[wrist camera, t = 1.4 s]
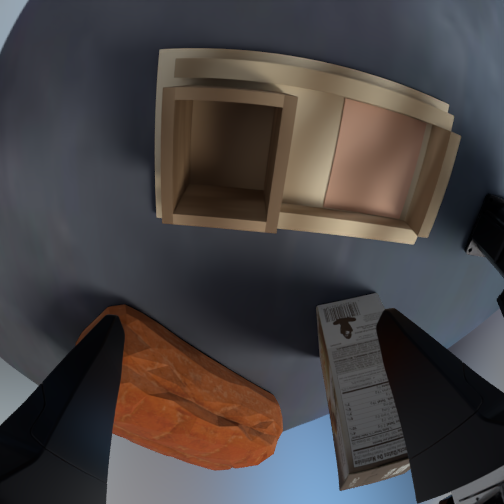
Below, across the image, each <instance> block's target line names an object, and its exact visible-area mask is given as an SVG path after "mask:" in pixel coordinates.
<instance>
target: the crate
mask: <svg viewBox="0 0 504 504" xmlns="http://www.w3.org/2000/svg"><path fill="white" fill-rule="evenodd" d="M297 102H298V97H297V96H294V95H290V94H287V93H282V92H274V91H266V90H258V89H248V88H236V87H221V86H196V85H185V86H173V87H163V92H162V113H161V205H162V223H164V224H177V225H189V226H201V227H212V228H224V229H235V230H246V231H256V232H266V233H276V232H277V226H278V221H279V215H280V209H281V203H282V197H283V191H284V185H285V179H286V173H287V167H288V160H289V154H290V148H291V142H292V135H293V129H294V122H295V115H296V109H297Z"/></svg>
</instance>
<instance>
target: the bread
mask: <svg viewBox="0 0 504 504" xmlns="http://www.w3.org/2000/svg"><path fill="white" fill-rule="evenodd" d="M107 314H111V315H118V316H119V318H120V321H121V324H122V326H123V329H124V332H125V342H124V352H123V362H122V374H121V382H120V387H119V393H118V398H117V404H116V410H115V417H114V424H113V431H112V433H113V434H115V435H118V436H120V437H123V438H126V439H128V440H130V441H131V442H133V443H136V444H138V445H141V446H143V447H146V448H148V449H150V450H153V451H156V452H158V453H161V454H163V455H166V456H171V457H174V458H177V459H179V460H182V461H185V462H187V463H190V464H194V465H197V466H201V467H204V468H208V469H211V470H228V469H230V468H232V467H233V468H242V467H248V466H254V465H258V464H260V463H261V462H262V461H264V460H265V459H267V458H268V457H270V456H271V455H272V454H274V451H275V447H276V444H277V441H278V439H279V437H280V435H281V433H282V431H283V424H282V415H281V410H280V406H279V404H278V402H277V400H276V398H275V396H274V395H272V394H271V393H269V392H267V391H265V390H263V389H261V388H260V387H258V386H256V385H254V384H253V383H251V382H249V381H248V380H246V379H244V378H243V377H241V376H239V375H238V374H236V373H234V372H233V371H231V370H229V369H227V368H226V367H224V366H222V365H221V364H219V363H217V362H216V361H214V360H212V359H211V358H209V357H208V356H206V355H204V354H203V353H201V352H200V351H198V350H197V349H195V348H194V347H192V346H190V345H189V344H187V343H186V342H184V341H183V340H181V339H180V338H178V337H177V336H176V335H174V334H173V333H171V332H170V331H169V330H167V329H166V328H165V327H163V326H162V325H160V324H159V323H157V322H155V321H154V320H152V319H151V318H149V317H148V316H146V315H145V314H143V313H141V312H139V311H137V310H135V309H133V308H131V307H129V306H127V305H125V304H124V305H118V306H111V307H107V308H106V309H105V310H104V311H103V312H102V313H101V314H100V315H99V316H98V317H97V318H96V319H95V320H94V321H93V322H92V323H91V324H90V325H89V326H88V327H87V328H86V329H85V330H84V331H83V332H82V333H81V335H80V337H79V338H78V340H77V342H76V345H77V344H78V343H79V342H80V341H81V340H82V339H83V338H84V336H85V335H86V334H87V333H88V332H89V331H90V330H91V329H92V328H93V327H94V326H95V325H96V324H97V323H98V322H99V321H100V320H101V319H102V318H103V317H104V316H105V315H107ZM76 345H75V346H76Z"/></svg>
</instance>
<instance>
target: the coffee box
mask: <svg viewBox="0 0 504 504" xmlns="http://www.w3.org/2000/svg"><path fill="white" fill-rule="evenodd" d="M384 310H385V308H384V306H383V304H382V302H381V300H380V298H379V296H378V294H377V293H373V294H369V295H364V296H360V297H356V298H351V299H346V300H342V301H337V302H333V303H328V304H323V305H318V306H317V307H316V314H317V327H318V341H319V354H320V362H321V367H322V372H323V378H324V384H325V389H326V395H327V401H328V407H329V413H330V419H331V426H332V432H333V440H334V447H335V453H336V460H337V468H338V476H339V489H340V491H342V490H346V489H350V488H355V487H358V486H363V485H368V484H371V483H375V482H378V481H382V480H386V479H389V478H392V477H395V476H398V475H401V474H404V473H405V472H407V471H408V470H410V469H411V468H410V464H409V458H408V454H407V449H406V445H405V441H404V436H403V432H402V428H401V424H400V421H399V417H398V413H397V409H396V406H395V402H394V398H393V395H392V392H391V388H390V385H389V381H388V378H387V375H386V372H385V368H384V364H383V360H382V355H381V350H380V346H379V341H378V337H377V332H376V325H377V322H378V320H379V318H380V316H381V314H382V312H383V311H384Z"/></svg>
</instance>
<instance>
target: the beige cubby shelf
mask: <svg viewBox="0 0 504 504" xmlns="http://www.w3.org/2000/svg"><path fill="white" fill-rule="evenodd" d="M185 85H196V86H221V87H236V88H248V89H258V90H266V91H274V92H282V93H287V94H290V95H294V96H297V97H298V102H297V109H296V115H295V122H294V129H293V135H292V142H291V148H290V154H289V160H288V167H287V173H286V179H285V185H284V191H283V197H282V203H281V209H280V215H279V221H278V226H277V228H278V229H288V230H298V231H307V232H316V233H325V234H334V235H342V236H351V237H359V238H367V239H375V240H383V241H391V242H398V243H406V244H413V245H414V243H415V241H416V239H417V236H419V237H425V238H428V236H429V233H430V231H431V229H432V226H433V224H434V221H435V218H436V216H437V213H438V210H439V208H440V205H441V202H442V199H443V196H444V193H445V190H446V187H447V184H448V181H449V178H450V175H451V172H452V168H453V165H454V161H455V158H456V154H457V151H458V147H459V143H460V139H461V136H460V135H458V134H455V133H453V132H451V129H452V124H453V120H454V116H453V115H451V114H449V113H448V109H449V104H447V103H445V102H442V101H440V100H438V99H436V98H433V97H431V96H429V95H426V94H424V93H422V92H419V91H417V90H414V89H412V88H409V87H406V86H404V85H401V84H398V83H396V82H393V81H390V80H387V79H384V78H381V77H378V76H374V75H371V74H368V73H365V72H361V71H358V70H354V69H350V68H346V67H342V66H338V65H334V64H330V63H326V62H321V61H316V60H311V59H306V58H300V57H294V56H288V55H282V54H274V53H266V52H257V51H247V50H233V49H211V48H180V49H160V51H159V62H158V74H157V90H156V112H155V190H156V213H157V218H162V205H161V113H162V92H163V87H173V86H185Z"/></svg>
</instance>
